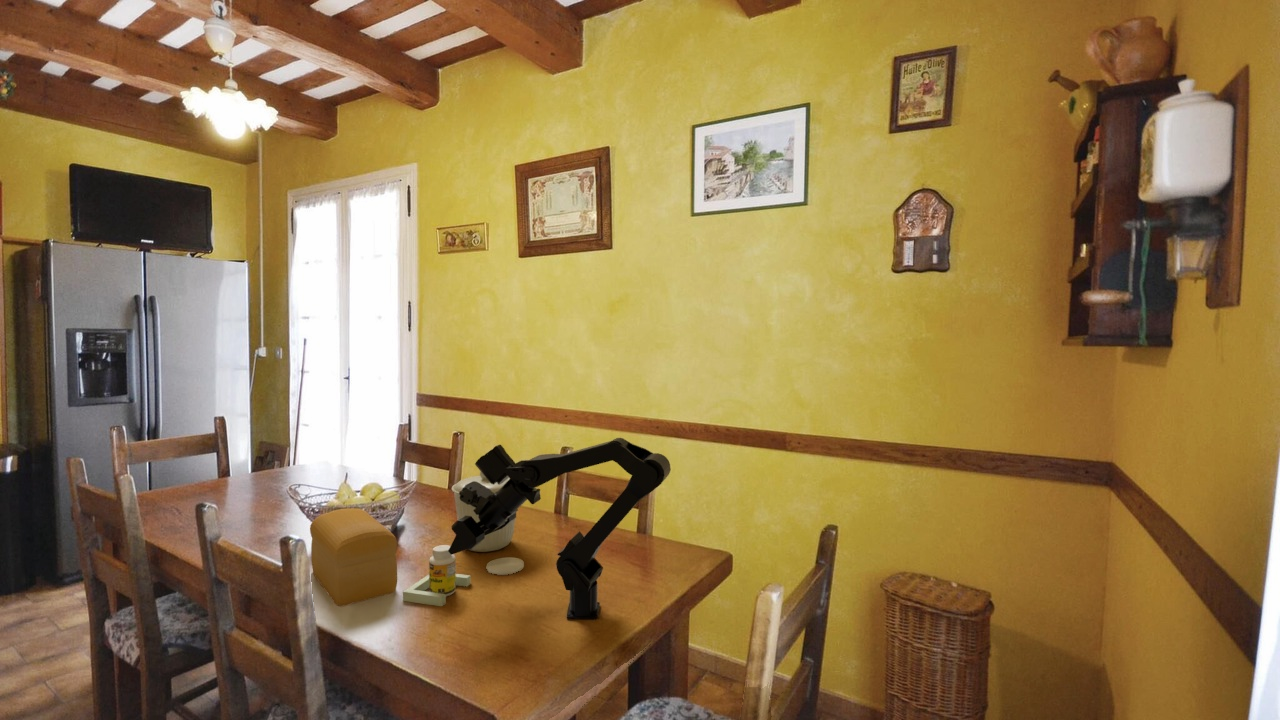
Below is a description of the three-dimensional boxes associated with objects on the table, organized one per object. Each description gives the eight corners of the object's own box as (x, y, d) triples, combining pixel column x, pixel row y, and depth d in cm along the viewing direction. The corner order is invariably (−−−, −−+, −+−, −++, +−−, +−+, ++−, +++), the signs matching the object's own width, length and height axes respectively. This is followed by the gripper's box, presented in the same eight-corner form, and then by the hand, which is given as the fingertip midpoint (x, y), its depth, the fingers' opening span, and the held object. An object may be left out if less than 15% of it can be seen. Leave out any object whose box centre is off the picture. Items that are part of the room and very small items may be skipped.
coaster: (520, 575, 143) (520, 571, 143) (482, 575, 143) (482, 571, 143) (526, 560, 152) (526, 557, 152) (491, 560, 152) (491, 557, 152)
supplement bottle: (424, 594, 133) (423, 549, 132) (443, 585, 137) (443, 541, 137) (441, 600, 130) (441, 554, 129) (461, 591, 135) (460, 546, 134)
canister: (533, 547, 161) (532, 470, 160) (468, 563, 150) (467, 480, 149) (503, 529, 175) (502, 458, 174) (442, 543, 164) (441, 466, 163)
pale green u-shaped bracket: (470, 584, 138) (470, 575, 138) (441, 606, 127) (441, 597, 127) (434, 579, 141) (434, 570, 141) (402, 600, 130) (402, 591, 130)
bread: (399, 591, 135) (398, 525, 134) (336, 608, 126) (335, 538, 125) (366, 558, 153) (365, 500, 152) (310, 571, 145) (308, 510, 144)
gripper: (504, 462, 139) (461, 505, 142) (459, 482, 121) (412, 530, 124) (535, 498, 137) (491, 541, 140) (495, 524, 119) (446, 572, 122)
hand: (461, 545), depth 132 cm, fingers open, 9 cm apart
